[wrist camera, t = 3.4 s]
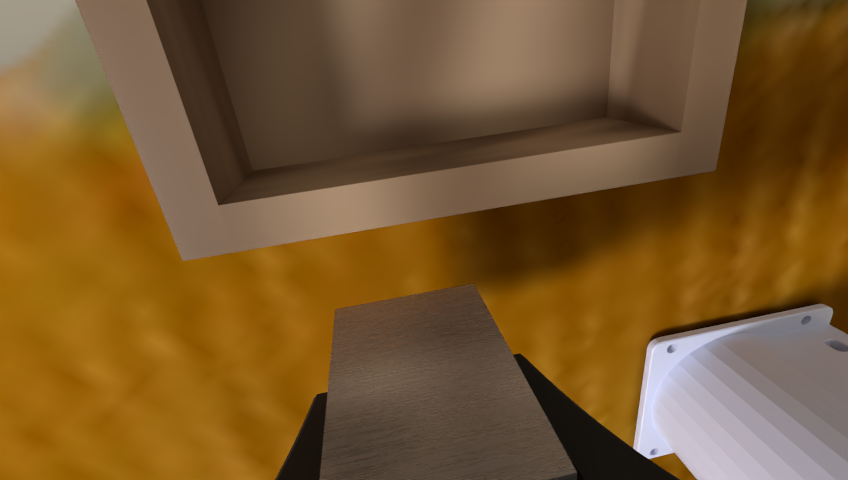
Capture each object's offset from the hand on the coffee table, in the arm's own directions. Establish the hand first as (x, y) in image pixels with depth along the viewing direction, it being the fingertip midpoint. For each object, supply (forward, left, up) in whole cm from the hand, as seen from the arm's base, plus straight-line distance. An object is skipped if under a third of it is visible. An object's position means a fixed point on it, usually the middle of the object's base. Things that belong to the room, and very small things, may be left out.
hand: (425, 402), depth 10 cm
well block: (-2, -9, -6) cm, 11 cm away
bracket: (0, 0, -2) cm, 2 cm away
